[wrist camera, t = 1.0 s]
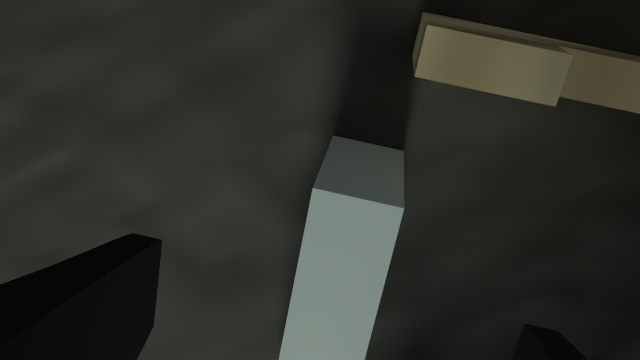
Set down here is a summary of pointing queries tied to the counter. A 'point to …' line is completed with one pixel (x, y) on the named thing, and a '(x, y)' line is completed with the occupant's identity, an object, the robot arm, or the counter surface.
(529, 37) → the birch board
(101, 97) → the counter surface
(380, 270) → the notched plate
